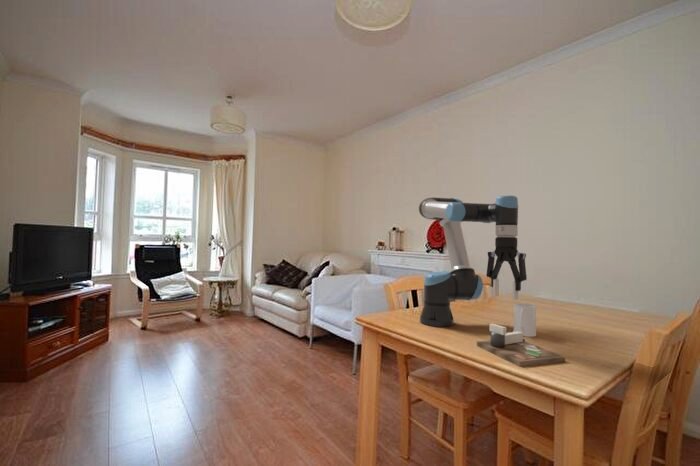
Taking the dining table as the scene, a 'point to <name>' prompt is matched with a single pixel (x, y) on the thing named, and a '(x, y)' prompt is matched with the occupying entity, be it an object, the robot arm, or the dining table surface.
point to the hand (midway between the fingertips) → (505, 297)
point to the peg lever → (503, 336)
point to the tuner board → (522, 353)
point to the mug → (525, 319)
